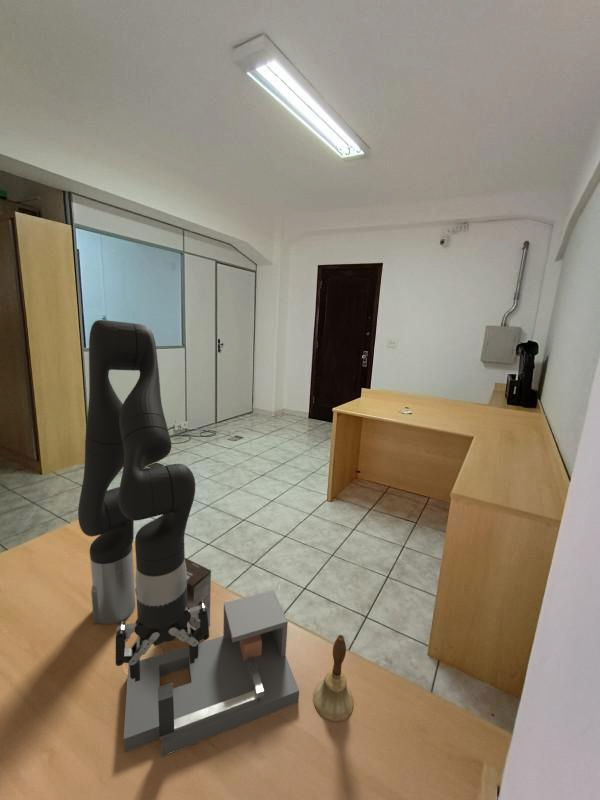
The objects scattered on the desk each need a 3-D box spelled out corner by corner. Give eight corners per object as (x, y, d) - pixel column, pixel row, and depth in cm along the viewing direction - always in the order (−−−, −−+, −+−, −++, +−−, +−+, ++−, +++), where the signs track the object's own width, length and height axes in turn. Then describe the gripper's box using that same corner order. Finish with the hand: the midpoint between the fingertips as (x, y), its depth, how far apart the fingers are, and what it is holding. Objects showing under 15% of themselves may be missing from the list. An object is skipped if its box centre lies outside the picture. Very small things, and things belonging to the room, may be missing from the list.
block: (243, 660, 76) (244, 645, 75) (239, 644, 80) (239, 630, 79) (261, 654, 78) (262, 640, 77) (256, 639, 81) (257, 625, 80)
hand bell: (357, 689, 75) (365, 627, 71) (347, 730, 67) (355, 663, 63) (320, 673, 77) (326, 613, 74) (307, 710, 70) (312, 645, 66)
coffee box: (165, 627, 86) (163, 571, 83) (184, 609, 92) (183, 555, 88) (192, 644, 82) (192, 586, 79) (211, 624, 88) (211, 569, 84)
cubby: (123, 772, 59) (119, 716, 56) (129, 675, 75) (126, 627, 72) (298, 702, 71) (302, 653, 69) (271, 631, 87) (273, 590, 84)
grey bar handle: (159, 742, 61) (158, 701, 59) (158, 695, 68) (157, 657, 66) (264, 702, 68) (265, 664, 66) (253, 664, 75) (254, 629, 73)
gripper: (204, 560, 62) (205, 636, 65) (113, 580, 56) (119, 661, 60) (211, 591, 55) (211, 673, 59) (108, 616, 49) (116, 705, 53)
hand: (165, 667), depth 59 cm, fingers open, 8 cm apart
